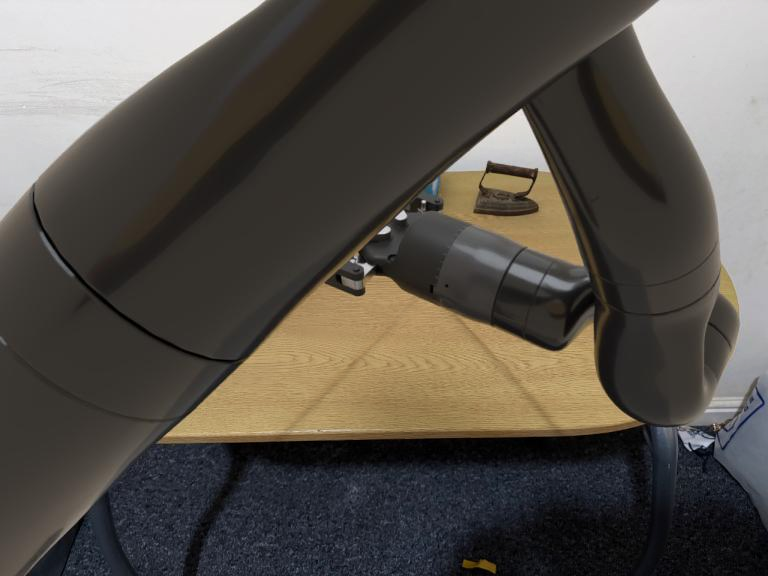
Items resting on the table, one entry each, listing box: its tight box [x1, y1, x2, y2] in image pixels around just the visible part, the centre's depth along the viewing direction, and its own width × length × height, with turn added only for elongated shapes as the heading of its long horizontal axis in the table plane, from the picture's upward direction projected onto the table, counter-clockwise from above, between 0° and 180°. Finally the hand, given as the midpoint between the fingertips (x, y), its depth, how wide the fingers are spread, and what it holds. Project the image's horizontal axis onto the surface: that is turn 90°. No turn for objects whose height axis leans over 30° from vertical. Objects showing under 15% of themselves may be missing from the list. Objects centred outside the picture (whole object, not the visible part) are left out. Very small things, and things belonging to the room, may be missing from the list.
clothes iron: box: [473, 159, 540, 217], centre depth 93 cm, size 7×11×10 cm, turn 75°
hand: (318, 210), depth 53 cm, fingers open, 8 cm apart
